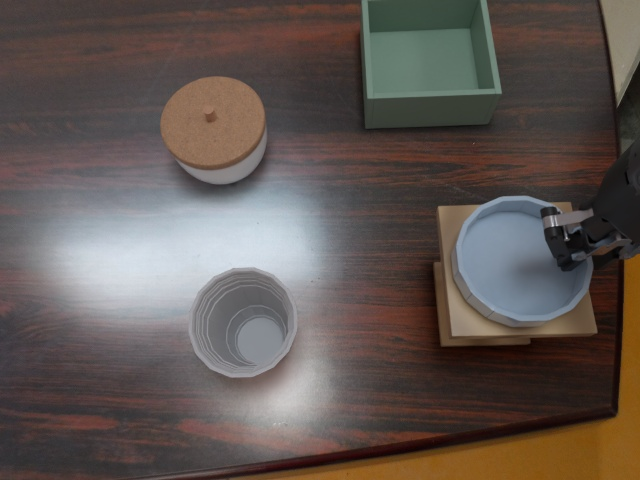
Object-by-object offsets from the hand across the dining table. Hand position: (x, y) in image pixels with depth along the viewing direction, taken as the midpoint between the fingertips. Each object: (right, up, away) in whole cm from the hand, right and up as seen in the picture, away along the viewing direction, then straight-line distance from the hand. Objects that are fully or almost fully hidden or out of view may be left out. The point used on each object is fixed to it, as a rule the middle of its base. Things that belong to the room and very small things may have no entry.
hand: (579, 260), depth 49 cm
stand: (-5, -6, +14) cm, 16 cm away
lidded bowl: (-36, +13, +23) cm, 45 cm away
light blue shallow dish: (-6, -1, +1) cm, 6 cm away
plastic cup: (-31, -10, +14) cm, 35 cm away
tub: (-10, +25, +26) cm, 38 cm away
